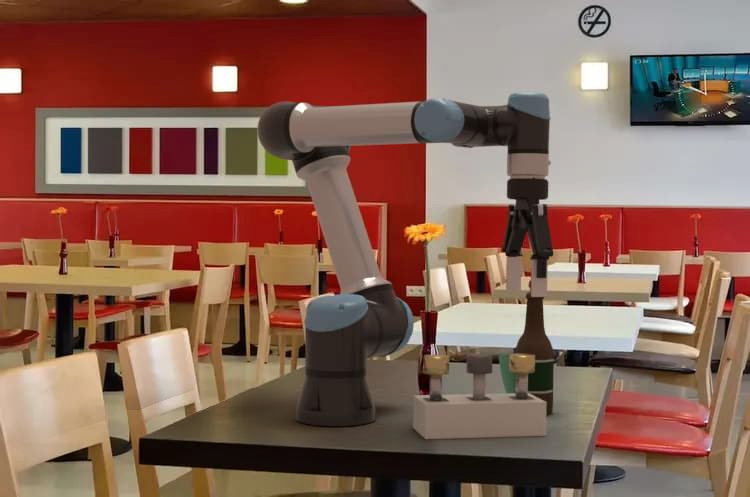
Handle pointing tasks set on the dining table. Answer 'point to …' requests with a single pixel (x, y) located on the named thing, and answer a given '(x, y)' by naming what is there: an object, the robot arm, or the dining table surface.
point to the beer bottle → (537, 352)
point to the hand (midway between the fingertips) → (525, 294)
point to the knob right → (522, 372)
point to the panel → (479, 416)
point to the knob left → (436, 373)
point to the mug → (507, 374)
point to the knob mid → (479, 373)
